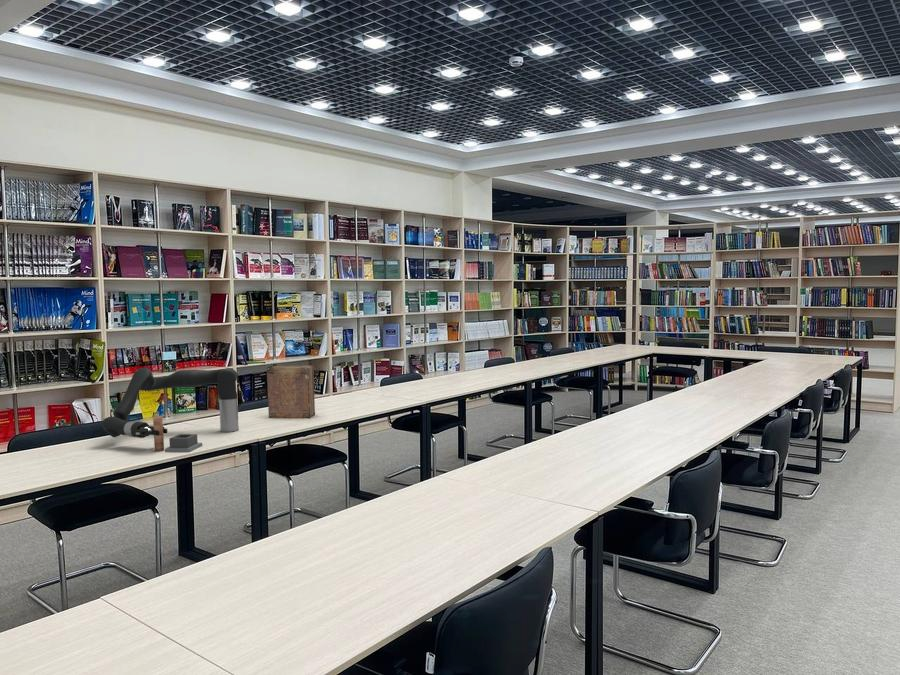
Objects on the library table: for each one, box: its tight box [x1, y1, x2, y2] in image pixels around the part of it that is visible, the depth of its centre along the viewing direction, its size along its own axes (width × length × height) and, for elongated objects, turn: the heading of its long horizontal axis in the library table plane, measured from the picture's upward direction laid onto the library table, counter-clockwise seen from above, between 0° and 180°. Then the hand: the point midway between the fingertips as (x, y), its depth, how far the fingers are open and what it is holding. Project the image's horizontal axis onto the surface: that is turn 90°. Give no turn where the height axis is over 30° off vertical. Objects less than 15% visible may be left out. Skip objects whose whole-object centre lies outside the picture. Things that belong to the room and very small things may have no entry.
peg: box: [152, 415, 165, 453], centre depth 299 cm, size 4×4×16 cm
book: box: [266, 364, 316, 419], centre depth 377 cm, size 25×9×30 cm, turn 82°
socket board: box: [164, 433, 203, 453], centre depth 303 cm, size 12×12×6 cm
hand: (162, 432), depth 298 cm, fingers closed on peg, 4 cm apart
